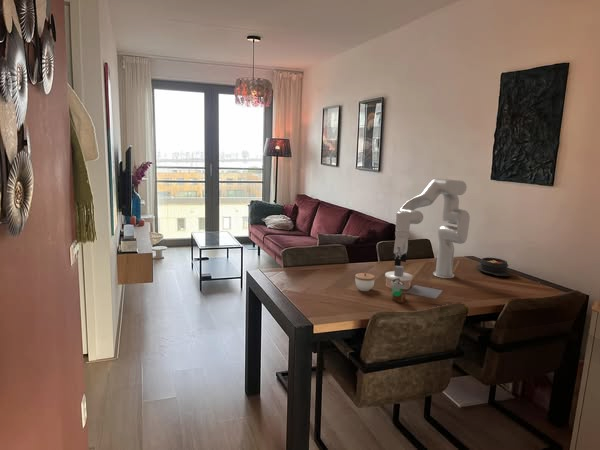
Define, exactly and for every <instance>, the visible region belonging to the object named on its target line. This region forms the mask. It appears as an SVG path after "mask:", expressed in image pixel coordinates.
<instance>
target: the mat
mask: <svg viewBox="0 0 600 450" xmlns="http://www.w3.org/2000/svg"><path fill="white" fill-rule="evenodd" d="M443 292H444V290H441V289H437V288H432V287H428V286H427V287H426V286H421V285H417V284H416V285H415V284H414V285H412V286H410V288H409V289H407V290H406V294H410V295H415V296H420V297H426V298H429V299H435V300H437V298H438V297H439V296H440V295H441V294H442V293H443Z"/></svg>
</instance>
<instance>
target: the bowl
mask: <svg viewBox="0 0 600 450" xmlns="http://www.w3.org/2000/svg"><path fill="white" fill-rule="evenodd" d="M391 282H392V280H391V279H388V278H386V277H385V286H386V287H387V288H388V289H391V290H392V286H391ZM401 282H403V283H404V285H407V289H406V291H408V290H409V289H410V288H411V283H412V282H411V280H409V281H401Z"/></svg>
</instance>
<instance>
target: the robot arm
mask: <svg viewBox="0 0 600 450" xmlns="http://www.w3.org/2000/svg"><path fill="white" fill-rule="evenodd" d="M466 191H467V183H466V182H465V181H464V180H457V179H448V178H433V179H431V181H429V183H428V184H427V185H426V187H425V188H424V189H423V190H422V191H421V193H420V194H419V195H416V196H414V197H412V198H411V199H409V200H407V201H406V202H405V203H404V204H403V205H402V206H401V207H400V209H399V210H398V211H397V212H396V215H395V217H396V219H395V232H394V234H395V240H394V246H393V247H394V248H393V254H394V267H395V266H402V264H401V263H402V262H404V263H406V262H407V252H408V246H409V245H408V244H409V241H408V240H409V238H410V231H411V229H410V228H411V227H410V226H411V225H418V224H421V223H423V220H424V213H422V212H421V211H419V210H416V209H419V208H423V207H424V208H425V207H428V206H431V205H433V204H434V202H435V201H436V199H438V197H439V196H440V195H442V197H443V209H442V221H443V222H444V223H447V224H444V225H441V226H439V228H438V229H437V239H438V240H437V241H438V243H437V244H438V246H437V255H436V256H437V257H436V266H435V271H433V273H432V275H433V276H435V277H437V278H441V279H453V278H455V274H454V273H453V266H454V257H455V256H454V255H455V245H454V244H459V245H461V244H465V243H466V241H467V240H468V239H467V238H468V234H469V230H470V229H469V227H470V221H471V220H470V219H471V218H470V217H471V216H470V214H469V211H468V210H465V209H462V208H460V209H459V205H460V199H459V196H462V195H464V194H465V193H466ZM449 224H450V225H449ZM454 225H456V226H454Z"/></svg>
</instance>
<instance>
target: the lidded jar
mask: <svg viewBox="0 0 600 450" xmlns="http://www.w3.org/2000/svg"><path fill="white" fill-rule="evenodd" d="M354 277H355V279H354V280H355V285H356V287H357V289H358V290H359V291H361V292H370V290H371V289H372V288H373V287H374V285H375V279H376V276H375V275H374V274H371V273H367V272H360V273H355V276H354Z"/></svg>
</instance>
